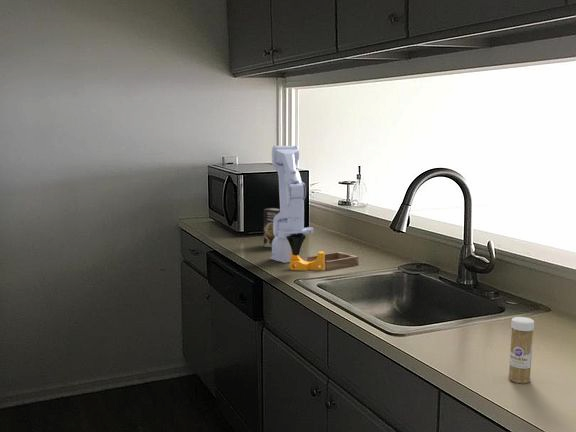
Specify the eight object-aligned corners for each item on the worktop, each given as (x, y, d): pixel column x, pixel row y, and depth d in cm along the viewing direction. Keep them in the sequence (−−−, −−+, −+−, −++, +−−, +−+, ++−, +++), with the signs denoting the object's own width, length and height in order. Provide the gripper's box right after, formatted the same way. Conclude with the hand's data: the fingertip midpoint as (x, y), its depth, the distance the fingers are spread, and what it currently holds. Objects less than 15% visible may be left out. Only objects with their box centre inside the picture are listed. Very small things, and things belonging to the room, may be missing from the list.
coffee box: (263, 246, 287) (262, 209, 285) (271, 244, 293) (271, 207, 290) (280, 249, 282) (280, 210, 280) (289, 246, 288) (289, 209, 285)
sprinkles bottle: (507, 382, 143) (511, 321, 141) (508, 374, 147) (511, 315, 145) (530, 385, 141) (534, 323, 139) (531, 377, 145) (534, 317, 143)
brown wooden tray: (307, 264, 253) (307, 256, 253) (338, 259, 263) (338, 251, 262) (327, 270, 244) (327, 262, 244) (358, 264, 254) (358, 256, 253)
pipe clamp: (289, 269, 246) (289, 252, 245) (292, 267, 250) (292, 250, 249) (322, 271, 243) (322, 254, 242) (324, 269, 247) (324, 251, 246)
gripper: (286, 220, 232) (286, 259, 234) (318, 216, 240) (318, 254, 242) (274, 218, 237) (274, 256, 239) (306, 214, 246) (306, 251, 248)
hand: (295, 254), depth 241 cm, fingers closed
